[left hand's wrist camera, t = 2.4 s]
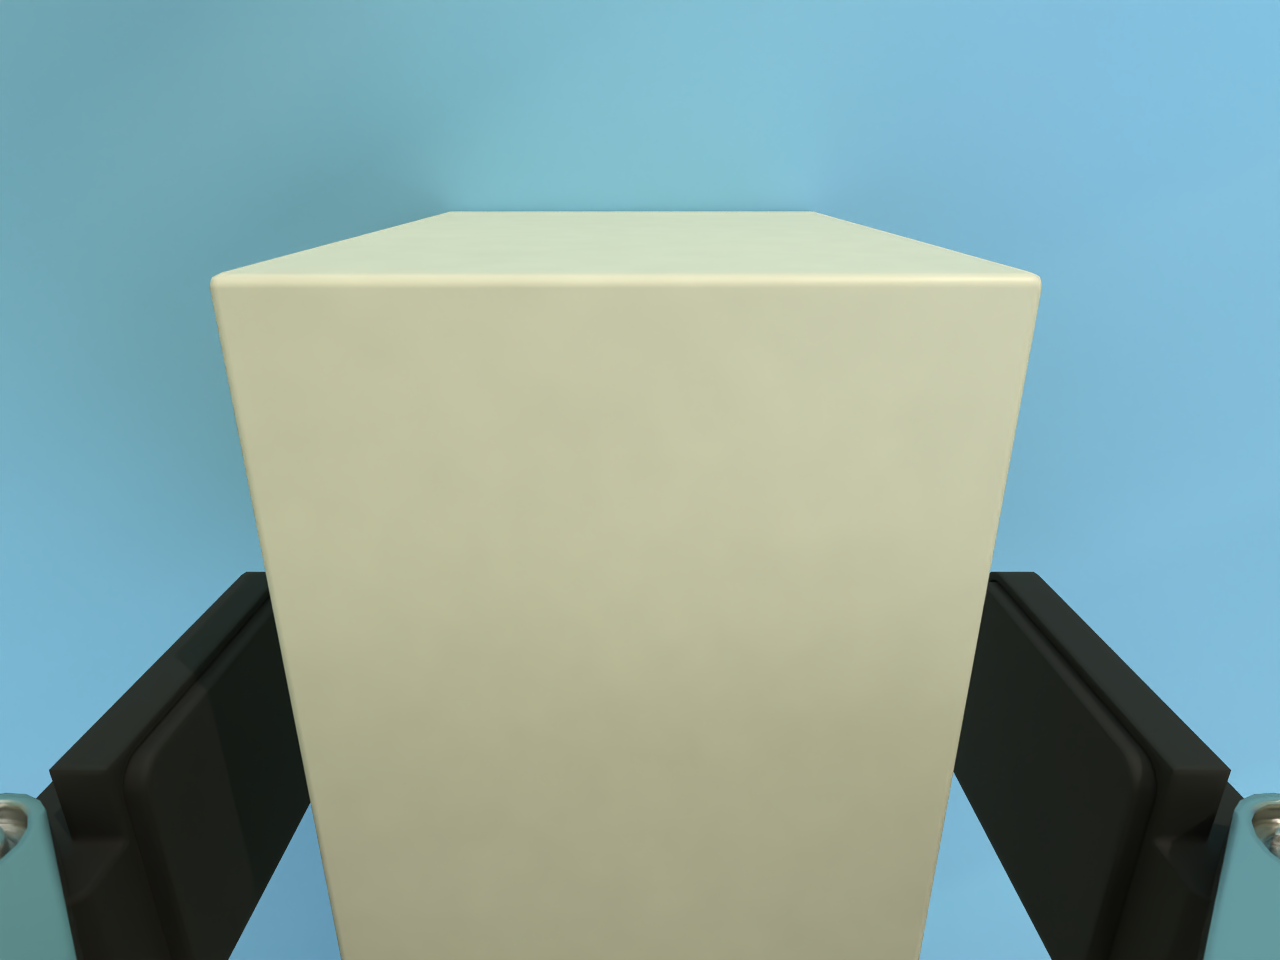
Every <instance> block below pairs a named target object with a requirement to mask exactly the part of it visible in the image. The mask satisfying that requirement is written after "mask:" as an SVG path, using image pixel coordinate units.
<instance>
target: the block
mask: <svg viewBox="0 0 1280 960" xmlns="http://www.w3.org/2000/svg"><path fill="white" fill-rule="evenodd" d="M1041 289H1042V286H1041V279H1040V277H1039V276H1038V275H1035V274H1033V273H1031V272H1028V271H1025V270H1021V269H1017V268H1014V267H1010V266H1007V265H1003V264H1000V263H996V262H992V261H989V260H985V259H982V258H978V257H974V256H971V255H967V254H964V253H960V252H956V251H953V250H949V249H946V248H942V247H938V246H935V245H931V244H928V243H924V242H921V241H917V240H913V239H910V238H906V237H903V236H899V235H895V234H892V233H888V232H885V231H881V230H877V229H874V228H870V227H867V226H863V225H859V224H856V223H852V222H849V221H845V220H842V219H838V218H834V217H831V216H827V215H824V214H820V213H816V212H813V211H545V212H447V213H443V214H440V215H436V216H432V217H428V218H425V219H421V220H417V221H413V222H410V223H406V224H402V225H398V226H394V227H391V228H387V229H383V230H379V231H376V232H372V233H368V234H364V235H361V236H357V237H353V238H349V239H346V240H342V241H338V242H334V243H331V244H327V245H323V246H319V247H316V248H312V249H308V250H304V251H301V252H297V253H293V254H289V255H286V256H282V257H278V258H274V259H271V260H267V261H263V262H259V263H256V264H252V265H248V266H244V267H241V268H237V269H233V270H229V271H226V272H222V273H220V274H218V275H215V276H213V277H212V279H211V284H210V291H211V296H212V301H213V306H214V311H215V316H216V322H217V327H218V332H219V337H220V342H221V347H222V352H223V357H224V362H225V368H226V373H227V378H228V383H229V388H230V393H231V398H232V403H233V408H234V414H235V419H236V424H237V429H238V434H239V439H240V444H241V449H242V454H243V460H244V465H245V470H246V475H247V480H248V485H249V490H250V495H251V500H252V505H253V511H254V516H255V521H256V526H257V531H258V536H259V541H260V546H261V551H262V557H263V562H264V567H265V572H266V577H267V582H268V587H269V592H270V597H271V603H272V608H273V613H274V618H275V623H276V628H277V633H278V638H279V643H280V649H281V654H282V659H283V664H284V669H285V674H286V679H287V684H288V689H289V695H290V700H291V705H292V710H293V715H294V720H295V725H296V730H297V735H298V740H299V746H300V751H301V756H302V761H303V766H304V771H305V776H306V781H307V786H308V792H309V797H310V802H311V807H312V812H313V817H314V822H315V827H316V832H317V838H318V843H319V848H320V853H321V858H322V863H323V868H324V873H325V878H326V884H327V889H328V894H329V899H330V904H331V909H332V914H333V919H334V924H335V930H336V935H337V940H338V945H339V950H340V955H341V960H919V956H920V951H921V945H922V940H923V934H924V929H925V923H926V918H927V913H928V907H929V902H930V896H931V891H932V885H933V880H934V874H935V869H936V863H937V858H938V852H939V847H940V841H941V836H942V830H943V825H944V820H945V814H946V809H947V803H948V798H949V792H950V787H951V781H952V776H953V770H954V765H955V759H956V754H957V748H958V743H959V737H960V732H961V727H962V721H963V716H964V710H965V705H966V699H967V694H968V688H969V683H970V677H971V672H972V666H973V661H974V655H975V650H976V644H977V639H978V634H979V628H980V623H981V617H982V612H983V606H984V601H985V595H986V590H987V584H988V579H989V573H990V568H991V562H992V557H993V552H994V546H995V541H996V535H997V530H998V524H999V519H1000V513H1001V508H1002V502H1003V497H1004V491H1005V486H1006V480H1007V475H1008V469H1009V464H1010V459H1011V453H1012V448H1013V442H1014V437H1015V431H1016V426H1017V420H1018V415H1019V409H1020V404H1021V398H1022V393H1023V387H1024V382H1025V376H1026V371H1027V366H1028V360H1029V355H1030V349H1031V344H1032V338H1033V333H1034V327H1035V322H1036V316H1037V311H1038V305H1039V300H1040V294H1041Z"/></svg>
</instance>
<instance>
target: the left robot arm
mask: <svg viewBox="0 0 1280 960" xmlns="http://www.w3.org/2000/svg"><path fill="white" fill-rule="evenodd" d="M49 772H50V775H51V778H52V781H53V782H52V783H51V784H50V785H49V786H48V787H47V788H46V789H45V790H44V791H43V792H42V793H41V794H40V795H39V796H38V797H37V798H33V797H31V796H29V795H26V794H14V793H3V794H0V960H228V959H229V957H230V955H231V953H232V951H233V949H234V948H235V946H236V944H237V942H238V940H239V938H240V936H241V934H242V932H243V930H244V928H245V927H246V925H247V923H248V921H249V919H250V917H251V915H252V913H253V911H254V909H255V907H256V905H257V904H258V902H259V900H260V898H261V896H262V894H263V892H264V890H265V888H266V886H267V884H268V883H269V881H270V879H271V877H272V875H273V873H274V871H275V869H276V867H277V865H278V863H279V861H280V860H281V858H282V856H283V854H284V852H285V850H286V848H287V846H288V844H289V842H290V840H291V839H292V837H293V835H294V833H295V831H296V829H297V827H298V825H299V823H300V821H301V819H302V817H303V816H304V814H305V812H306V810H307V808H308V806H309V804H310V797H309V792H308V786H307V781H306V776H305V771H304V766H303V761H302V756H301V751H300V746H299V740H298V735H297V730H296V725H295V720H294V715H293V710H292V705H291V700H290V695H289V689H288V684H287V679H286V674H285V669H284V664H283V659H282V654H281V649H280V643H279V638H278V633H277V628H276V623H275V618H274V613H273V608H272V603H271V597H270V592H269V587H268V582H267V577H266V572H246V573H244V574H243V575H241V576H240V577H239V578H238V579H237V580H236V581H235V582H234V583H233V584H232V585H231V586H230V587H229V588H228V589H227V590H226V591H225V592H224V593H223V594H222V595H221V596H220V597H219V598H218V599H217V601H216V602H215V603H214V604H213V605H212V606H211V607H210V608H209V609H208V610H207V611H206V612H205V613H204V614H203V615H202V616H201V617H200V618H199V619H198V620H197V621H196V622H195V623H194V624H193V625H192V626H191V627H190V628H189V629H188V630H187V631H186V632H185V633H184V634H183V635H182V636H181V637H180V638H179V639H178V640H177V641H176V642H175V643H174V644H173V645H172V646H171V647H170V648H169V649H168V650H167V651H166V652H165V653H164V654H163V655H162V656H161V657H160V658H159V659H158V660H157V661H156V662H155V663H154V664H153V665H152V666H151V667H150V668H149V669H148V670H147V671H146V672H145V673H144V674H143V675H142V676H141V677H140V678H139V679H138V680H137V681H136V683H135V684H134V685H133V686H132V687H131V688H130V689H129V690H128V691H127V692H126V693H125V694H124V695H123V696H122V697H121V698H120V699H119V700H118V701H117V702H116V703H115V704H114V705H113V706H112V707H111V708H110V709H109V710H108V711H107V712H106V713H105V714H104V715H103V716H102V717H101V718H100V719H99V720H98V721H97V722H96V723H95V724H94V725H93V726H92V727H91V728H90V729H89V730H88V731H87V732H86V733H85V734H84V735H83V736H82V737H81V738H80V739H79V740H78V741H77V742H76V743H75V744H74V745H73V746H72V747H71V748H70V749H69V750H68V751H67V752H66V753H65V754H64V755H63V756H62V757H61V758H60V759H59V760H58V761H57V762H56V764H55V765H54V766H53V767H52V768H51V769H50V770H49ZM953 772H954V773H955V775H956V777H957V779H958V781H959V783H960V785H961V787H962V789H963V791H964V793H965V795H966V796H967V798H968V800H969V802H970V804H971V806H972V808H973V810H974V812H975V814H976V816H977V817H978V819H979V821H980V823H981V825H982V827H983V829H984V831H985V833H986V835H987V837H988V839H989V840H990V842H991V844H992V846H993V848H994V850H995V852H996V854H997V856H998V858H999V860H1000V861H1001V863H1002V865H1003V867H1004V869H1005V871H1006V873H1007V875H1008V877H1009V879H1010V881H1011V883H1012V884H1013V886H1014V888H1015V890H1016V892H1017V894H1018V896H1019V898H1020V900H1021V902H1022V904H1023V905H1024V907H1025V909H1026V911H1027V913H1028V915H1029V917H1030V919H1031V921H1032V923H1033V925H1034V927H1035V928H1036V930H1037V932H1038V934H1039V936H1040V938H1041V940H1042V942H1043V944H1044V946H1045V948H1046V949H1047V951H1048V953H1049V955H1050V957H1051V959H1052V960H1280V794H1277V793H1266V794H1254V795H1251V796H1249V797H1247V798H1243V797H1242V796H1241V795H1240V794H1239V793H1238V792H1237V791H1236V790H1235V789H1234V788H1233V787H1232V786H1231V785H1230V784H1229V783H1228V782H1227V781H1228V778H1229V775H1230V772H1231V770H1230V769H1229V768H1228V767H1227V766H1226V765H1225V764H1224V762H1223V761H1222V760H1221V759H1220V758H1219V757H1218V756H1217V755H1216V754H1215V753H1214V752H1213V751H1212V750H1211V749H1210V748H1209V747H1208V746H1207V745H1206V744H1205V743H1204V742H1203V741H1202V740H1201V739H1200V738H1199V737H1198V736H1197V735H1196V734H1195V733H1194V732H1193V731H1192V730H1191V729H1190V728H1189V727H1188V726H1187V725H1186V724H1185V723H1184V722H1183V721H1182V720H1181V719H1180V718H1179V717H1178V716H1177V715H1176V714H1175V713H1174V712H1173V711H1172V710H1171V709H1170V708H1169V707H1168V706H1167V705H1166V704H1165V703H1164V702H1163V701H1162V700H1161V699H1160V698H1159V697H1158V696H1157V695H1156V694H1155V693H1154V692H1153V691H1152V690H1151V689H1150V688H1149V687H1148V686H1147V685H1146V684H1145V683H1144V682H1143V680H1142V679H1141V678H1140V677H1139V676H1138V675H1137V674H1136V673H1135V672H1134V671H1133V670H1132V669H1131V668H1130V667H1129V666H1128V665H1127V664H1126V663H1125V662H1124V661H1123V660H1122V659H1121V658H1120V657H1119V656H1118V655H1117V654H1116V653H1115V652H1114V651H1113V650H1112V649H1111V648H1110V647H1109V646H1108V645H1107V644H1106V643H1105V642H1104V641H1103V640H1102V639H1101V638H1100V637H1099V636H1098V635H1097V634H1096V633H1095V632H1094V631H1093V630H1092V629H1091V628H1090V627H1089V626H1088V625H1087V624H1086V623H1085V622H1084V621H1083V620H1082V619H1081V618H1080V617H1079V616H1078V615H1077V614H1076V613H1075V612H1074V611H1073V610H1072V609H1071V608H1070V607H1069V606H1068V605H1067V604H1066V603H1065V602H1064V601H1063V599H1062V598H1061V597H1060V596H1059V595H1058V594H1057V593H1056V592H1055V591H1054V590H1053V589H1052V588H1051V587H1050V586H1049V585H1048V584H1047V583H1046V582H1045V581H1044V580H1043V579H1042V578H1041V577H1040V576H1039V575H1037V574H1036V573H1034V572H991V573H989V579H988V584H987V590H986V595H985V601H984V606H983V612H982V617H981V623H980V628H979V634H978V639H977V644H976V650H975V655H974V661H973V666H972V672H971V677H970V683H969V688H968V694H967V699H966V705H965V710H964V716H963V721H962V727H961V732H960V737H959V743H958V748H957V754H956V759H955V765H954V770H953Z"/></svg>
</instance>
